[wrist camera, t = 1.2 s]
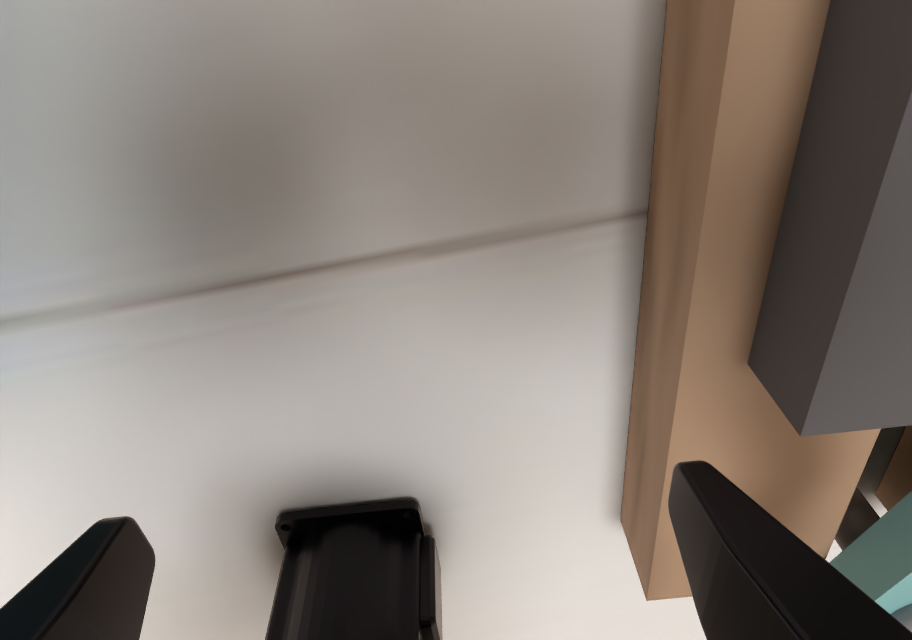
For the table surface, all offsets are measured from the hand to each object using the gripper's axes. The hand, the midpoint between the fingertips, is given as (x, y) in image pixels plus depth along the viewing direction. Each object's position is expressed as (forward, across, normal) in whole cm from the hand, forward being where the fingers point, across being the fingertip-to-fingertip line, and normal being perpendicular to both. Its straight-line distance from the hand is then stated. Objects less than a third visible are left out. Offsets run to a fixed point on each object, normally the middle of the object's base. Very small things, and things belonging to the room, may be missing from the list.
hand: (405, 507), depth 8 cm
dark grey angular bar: (+8, -11, 0) cm, 13 cm away
